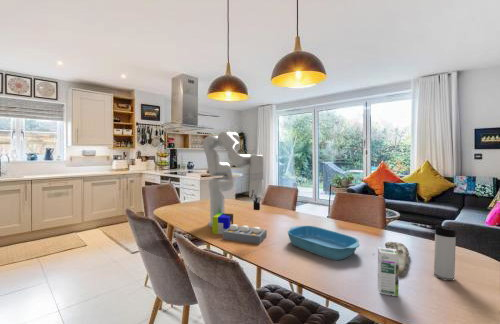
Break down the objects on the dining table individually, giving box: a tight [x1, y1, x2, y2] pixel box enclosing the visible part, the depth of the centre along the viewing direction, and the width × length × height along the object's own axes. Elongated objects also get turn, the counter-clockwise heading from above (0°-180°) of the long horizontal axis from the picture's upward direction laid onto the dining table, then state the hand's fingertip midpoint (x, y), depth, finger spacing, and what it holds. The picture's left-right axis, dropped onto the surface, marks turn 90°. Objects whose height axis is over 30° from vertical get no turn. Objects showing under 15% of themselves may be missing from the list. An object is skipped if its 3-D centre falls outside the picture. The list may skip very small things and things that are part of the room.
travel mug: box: [433, 225, 457, 281], centre depth 95 cm, size 6×7×20 cm
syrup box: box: [377, 246, 400, 298], centre depth 85 cm, size 6×6×14 cm
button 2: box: [252, 226, 261, 234], centre depth 137 cm, size 4×4×4 cm
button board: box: [222, 226, 268, 245], centre depth 140 cm, size 12×22×4 cm, turn 69°
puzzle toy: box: [212, 213, 234, 235], centre depth 151 cm, size 10×10×10 cm
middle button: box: [240, 225, 250, 233], centre depth 139 cm, size 4×4×4 cm
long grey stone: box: [384, 241, 410, 277], centre depth 111 cm, size 35×5×10 cm
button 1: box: [230, 223, 239, 231], centre depth 142 cm, size 4×4×4 cm
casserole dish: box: [287, 225, 361, 261], centre depth 124 cm, size 37×22×7 cm, turn 41°
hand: (256, 209), depth 136 cm, fingers closed
